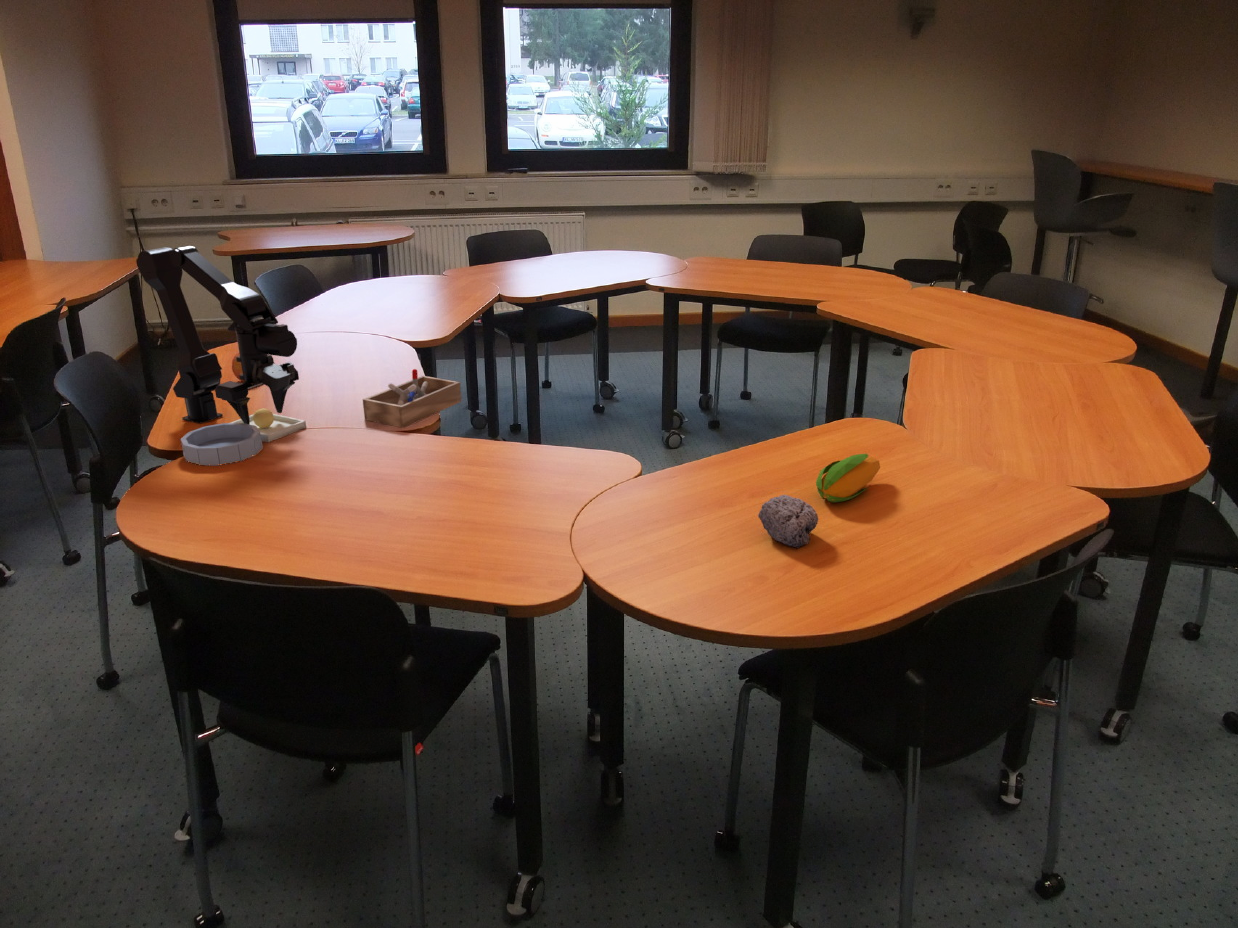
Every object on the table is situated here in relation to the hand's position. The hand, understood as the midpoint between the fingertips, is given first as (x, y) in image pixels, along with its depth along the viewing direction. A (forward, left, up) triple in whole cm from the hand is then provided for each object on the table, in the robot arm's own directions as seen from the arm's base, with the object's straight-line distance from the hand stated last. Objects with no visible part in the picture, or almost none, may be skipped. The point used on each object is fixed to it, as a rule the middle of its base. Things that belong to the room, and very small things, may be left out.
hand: (263, 418), depth 204 cm
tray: (0, 0, -3) cm, 3 cm away
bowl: (+3, -14, -3) cm, 15 cm away
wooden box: (+21, +26, -3) cm, 34 cm away
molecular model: (+21, +26, -3) cm, 34 cm away
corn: (+126, +28, -3) cm, 129 cm away
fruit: (-33, +24, -3) cm, 41 cm away
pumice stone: (+122, +3, -3) cm, 122 cm away
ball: (0, 0, 0) cm, 0 cm away
